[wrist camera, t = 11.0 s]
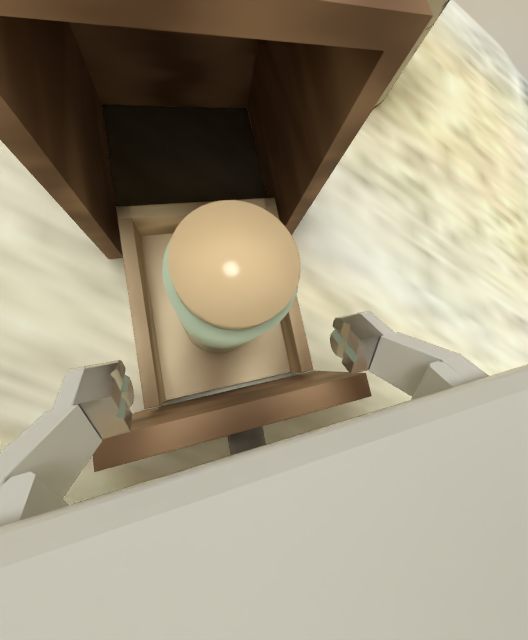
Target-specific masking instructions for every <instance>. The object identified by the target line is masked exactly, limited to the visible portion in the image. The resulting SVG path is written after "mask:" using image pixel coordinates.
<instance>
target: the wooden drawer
mask: <svg viewBox="0 0 528 640" xmlns="http://www.w3.org/2000/svg"><path fill="white" fill-rule="evenodd" d="M236 201H243V202H247V203H251V204H254V205H256V206H259V207H261V208H263V209H265V210H266V211H268V212H269V213H271V214H273V215H274V216H275V217H276V218H277V219H279V216H278V211H277V207H276V202H275V198H259V199H242V200H236ZM212 202H216V201H208V202H191V203H174V204H157V205H140V206H123V207H116V210H117V217H118V224H119V231H120V238H121V245H122V253H123V260H124V267H125V274H126V281H127V288H128V295H129V302H130V309H131V316H132V323H133V331H134V338H135V345H136V352H137V359H138V366H139V373H140V380H141V387H142V394H143V401H144V408H145V409H147V408H152V407H156V406H160V405H161V404H162V403H163V402H165V401H166V400H170V399H174V398H179V397H183V396H187V395H192V394H196V393H200V392H205V391H209V390H213V389H218V388H222V387H227V386H231V385H235V384H240V383H244V382H248V381H253V380H257V379H261V378H266V377H270V376H275V375H279V374H283V373H288V372H306V371H311V370H313V366H312V362H311V357H310V353H309V348H308V344H307V340H306V335H305V331H304V326H303V322H302V317H301V313H300V309H299V304H298V300H297V295H296V297H295V300H294V302H293V304H292V306H291V308H290V310H289V311H288V313H287V314H286V316H285V317H284V318H283V319H282V320H281V321H280V322H279V323H278V324H277V325H275V326H274V327H273V328H271V329H270V330H268V331H266V332H264V333H263V334H261V335H259V336H257V337H256V338H254V339H252V340H250V341H248V342H247V343H245V344H243V345H241V346H240V347H238V348H236V349H234V350H232V351H230V352H226V353H220V354H216V353H210V352H206V351H204V350H202V349H200V348H198V347H197V346H196V345H195V344H194V343H193V342H192V341H191V340H190V339H189V337H188V335H187V333H186V331H185V329H184V328H183V326H182V324H181V322H180V320H179V318H178V316H177V314H176V312H175V310H174V308H173V306H172V304H171V302H170V300H169V298H168V296H167V293H166V291H165V287H164V283H163V276H162V265H163V258H164V253H165V251H166V248H167V245H168V244H169V242H170V240H171V238H172V236H173V233H174V232H175V230H176V228H177V226H178V225H179V224H180V222H181V221H182V220H183V219H184V218H185V217H186V216H187V215H188V214H190V213H191V212H192V211H194V210H195V209H197V208H199V207H201V206H203V205H206V204H208V203H212ZM370 396H371V392H370V388H369V384H368V380H367V376H366V373H354V374H350V373H349V372H327V371H311V372H307V373H303V374H298V375H294V376H290V377H286V378H281V379H277V380H273V381H269V382H264V383H260V384H256V385H251V386H247V387H243V388H239V389H234V390H230V391H226V392H221V393H217V394H213V395H209V396H204V397H200V398H196V399H191V400H187V401H183V402H179V403H174V404H170V405H166V406H162V407H157V408H153V409H149V410H144V411H140V412H136V413H134V414H133V415H132V419H131V429H130V432H126V433H123V434H119V435H116V436H112V437H109V438H105V439H102V442H101V443H100V445H99V446H98V448H97V449H96V451H95V452H94V454H93V462H94V471H95V472H96V471H100V470H104V469H107V468H111V467H115V466H118V465H122V464H126V463H129V462H133V461H136V460H140V459H144V458H147V457H151V456H155V455H158V454H162V453H166V452H169V451H173V450H177V449H180V448H184V447H187V446H191V445H195V444H198V443H202V442H206V441H209V440H213V439H217V438H220V437H224V436H228V442H229V447H230V453H231V455H234V454H238V453H241V452H244V451H247V450H251V449H254V448H257V447H260V446H264V445H266V443H265V438H264V433H263V428H262V426H264V425H268V424H271V423H275V422H279V421H282V420H286V419H290V418H293V417H297V416H301V415H304V414H308V413H311V412H315V411H319V410H322V409H326V408H330V407H333V406H337V405H341V404H344V403H348V402H352V401H355V400H359V399H362V398H366V397H370Z"/></svg>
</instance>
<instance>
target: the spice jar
mask: <svg viewBox="0 0 528 640" xmlns="http://www.w3.org/2000/svg"><path fill="white" fill-rule="evenodd" d="M162 276H163V283H164V287H165V291H166V293H167V296H168V298H169V300H170V302H171V304H172V306H173V308H174V310H175V312H176V314H177V316H178V318H179V320H180V322H181V324H182V326H183V328H184V329H185V331H186V333H187V335H188V337H189V339H190V340H191V341H192V342H193V343H194V344H195V345H196V346H197V347H198V348H200V349H202V350H204V351H206V352H210V353H216V354H220V353H226V352H230V351H232V350H234V349H236V348H238V347H240V346H241V345H243V344H245V343H247V342H248V341H250V340H252V339H254V338H256V337H257V336H259V335H261V334H263V333H264V332H266V331H268V330H270V329H271V328H273V327H274V326H275V325H277V324H278V323H279V322H280V321H281V320H282V319H283V318H284V317H285V316H286V314H287V313H288V311H289V310H290V308H291V306H292V304H293V302H294V300H295V297H296V293H297V289H298V282H299V278H300V258H299V253H298V249H297V246H296V244H295V242H294V239H293V238H292V236H291V234H290V232H289V231H288V230H287V228H286V227H285V226H284V225H283V224H282V223H281V222H280V220H279V219H277V218H276V217H275V216H274V215H273V214H271V213H269V212H268V211H266V210H265V209H263V208H261V207H259V206H256V205H254V204H251V203H247V202H243V201H236V200H222V201H216V202H212V203H208V204H206V205H203V206H201V207H199V208H197V209H195V210H194V211H192V212H191V213H190V214H188V215H187V216H186V217H185V218H184V219H183V220H182V221H181V222H180V224H179V225H178V226H177V228H176V230H175V232H174V233H173V236H172V238H171V240H170V242H169V244H168V245H167V248H166V251H165V253H164V258H163V265H162Z"/></svg>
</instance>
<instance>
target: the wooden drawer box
mask: <svg viewBox="0 0 528 640" xmlns="http://www.w3.org/2000/svg"><path fill="white" fill-rule="evenodd" d="M432 17H433V14H432V11H431V8H430V5H429V2H428V0H0V140H1V141H2V142H3V143H4V144H5V145H6V146H7V148H8V149H9V150H10V151H11V152H12V153H13V154H14V155H15V156H16V157H17V159H18V160H19V161H20V162H21V163H22V164H23V165H24V166H25V167H26V168H27V170H28V171H29V172H30V173H31V174H32V175H33V176H34V177H35V178H36V179H37V181H38V182H39V183H40V184H41V185H42V186H43V187H44V188H45V189H46V190H47V192H48V193H49V194H50V195H51V196H52V197H53V198H54V199H55V200H56V201H57V203H58V204H59V205H60V206H61V207H62V208H63V209H64V210H65V211H66V212H67V214H68V215H69V216H70V217H71V218H72V219H73V220H74V221H75V222H76V224H77V225H78V226H79V227H80V228H81V229H82V230H83V231H84V232H85V233H86V235H87V236H88V237H89V238H90V239H91V240H92V241H93V242H94V243H95V244H96V246H97V247H98V248H99V249H100V250H101V251H102V252H103V253H104V254H105V255H106V257H107V258H108V259H110V258H120V257H123V253H122V245H121V238H120V231H119V224H118V217H117V210H116V202H115V195H114V188H113V180H112V173H111V166H110V159H109V152H108V145H107V138H106V131H105V124H104V117H103V110H102V105H136V106H175V107H214V108H247V109H248V114H249V118H250V123H251V127H252V132H253V136H254V141H255V145H256V150H257V154H258V159H259V163H260V168H261V172H262V177H263V181H264V186H265V190H266V195H267V198H275V202H276V207H277V211H278V216H279V220H280V222H281V223H282V224H283V225H284V226H285V227H286V228H287V230H288V231H289V232H290V234H291V235H292V233H293V232H294V230H295V229H296V227H297V226H298V224H299V223H300V221H301V220H302V218H303V216H304V215H305V213H306V212H307V210H308V209H309V207H310V206H311V204H312V203H313V201H314V199H315V198H316V196H317V195H318V193H319V192H320V190H321V189H322V187H323V186H324V184H325V182H326V181H327V179H328V178H329V176H330V175H331V173H332V172H333V170H334V169H335V167H336V165H337V164H338V162H339V161H340V159H341V158H342V156H343V155H344V153H345V151H346V150H347V148H348V147H349V145H350V144H351V142H352V141H353V139H354V138H355V136H356V134H357V133H358V131H359V130H360V128H361V127H362V125H363V124H364V122H365V121H366V119H367V117H368V116H369V114H370V113H371V111H372V110H373V108H374V107H375V105H376V104H377V102H378V100H379V99H380V97H381V96H382V94H383V93H384V91H385V90H386V88H387V87H388V85H389V83H390V82H391V80H392V79H393V77H394V76H395V74H396V73H397V71H398V69H399V68H400V66H401V65H402V63H403V62H404V60H405V59H406V57H407V56H408V54H409V52H410V51H411V49H412V48H413V46H414V45H415V43H416V42H417V40H418V39H419V37H420V35H421V34H422V32H423V31H424V29H425V28H426V26H427V25H428V23H429V22H430V20H431V18H432Z"/></svg>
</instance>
